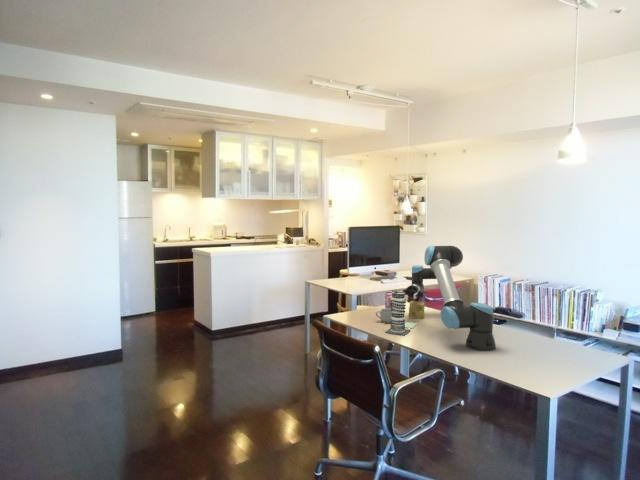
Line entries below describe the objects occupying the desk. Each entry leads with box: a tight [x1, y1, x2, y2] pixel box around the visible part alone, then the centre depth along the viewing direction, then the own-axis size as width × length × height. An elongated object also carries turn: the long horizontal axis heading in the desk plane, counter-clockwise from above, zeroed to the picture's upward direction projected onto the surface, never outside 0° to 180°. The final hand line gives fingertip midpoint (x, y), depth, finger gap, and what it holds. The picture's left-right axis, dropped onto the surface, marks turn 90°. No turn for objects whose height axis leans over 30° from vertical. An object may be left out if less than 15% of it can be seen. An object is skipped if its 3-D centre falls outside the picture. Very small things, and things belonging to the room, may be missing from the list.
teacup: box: [375, 307, 392, 324], centre depth 282 cm, size 14×11×8 cm
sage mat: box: [404, 321, 419, 330], centre depth 274 cm, size 12×12×1 cm
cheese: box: [407, 300, 426, 320], centre depth 296 cm, size 10×11×10 cm
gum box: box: [384, 291, 392, 308], centre depth 302 cm, size 24×8×14 cm, turn 178°
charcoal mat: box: [384, 327, 411, 337], centre depth 260 cm, size 12×12×1 cm
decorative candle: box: [390, 288, 407, 333], centre depth 260 cm, size 9×9×25 cm
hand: (403, 295), depth 268 cm, fingers open, 13 cm apart
